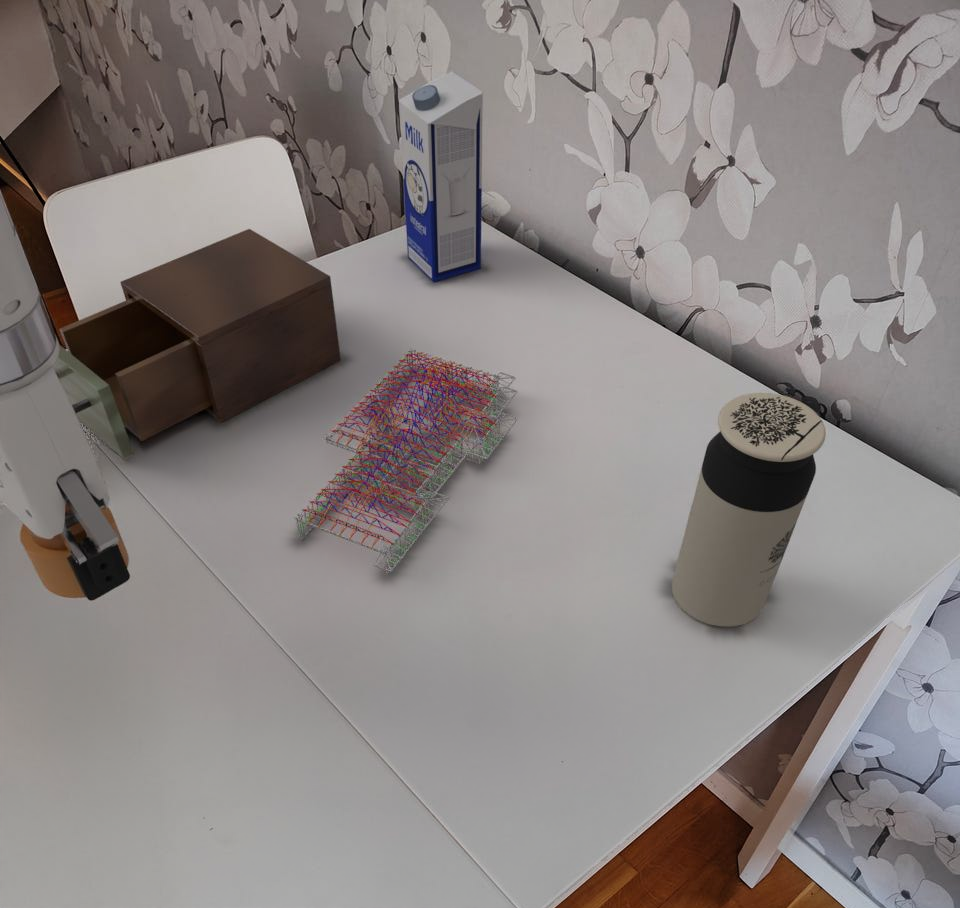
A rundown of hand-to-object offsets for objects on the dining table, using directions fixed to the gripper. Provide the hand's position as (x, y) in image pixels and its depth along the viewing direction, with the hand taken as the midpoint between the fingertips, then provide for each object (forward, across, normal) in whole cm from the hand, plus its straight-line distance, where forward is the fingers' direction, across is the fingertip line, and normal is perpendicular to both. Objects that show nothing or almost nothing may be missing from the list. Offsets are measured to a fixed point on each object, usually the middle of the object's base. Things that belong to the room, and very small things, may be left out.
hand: (82, 560), depth 63 cm
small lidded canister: (+1, 0, 0) cm, 1 cm away
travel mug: (+11, +29, +40) cm, 51 cm away
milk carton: (+12, -27, +61) cm, 68 cm away
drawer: (+11, -27, +17) cm, 34 cm away
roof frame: (+12, -2, +32) cm, 34 cm away
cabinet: (+12, -27, +31) cm, 43 cm away
